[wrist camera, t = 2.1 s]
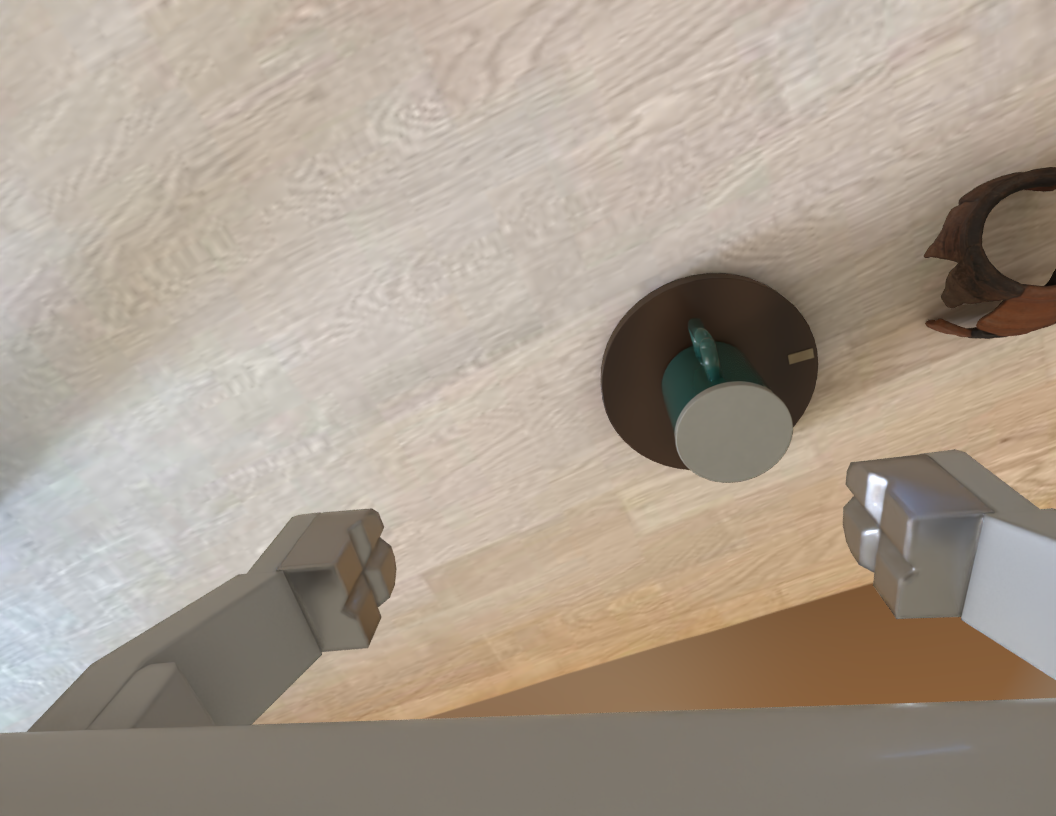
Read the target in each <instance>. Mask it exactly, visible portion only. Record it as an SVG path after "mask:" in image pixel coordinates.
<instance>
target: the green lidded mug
mask: <svg viewBox="0 0 1056 816" xmlns="http://www.w3.org/2000/svg"><path fill="white" fill-rule="evenodd" d="M688 329H689V332H690V336H691V340H692V344H693V346H691V347H689V348H687V349H685V350H683V351H682V352H680V353H679V354H678V355H677V356H675V358H674V359H673V360H672V361H671V362H670V363H669V365H668V366H667V368H666V370H665V372H664V375H663V379H662V386H661V388H662V395H663V399H664V402H665V406H666V409H667V412H668V416H669V419H670V422H671V426H672V429H673V432H674V436H675V444H676V448H677V451H678V454H679V456H680V458H681V460H682V461H683V463H684V464H685V465H686V466H687V467H688V468H689V469H690V470H691V471H692V472H694V473H695V474H697V475H699V476H700V477H702V478H705V479H708V480H711V481H715V482H722V483H733V482H741V481H745V480H749V479H752V478H755V477H757V476H759V475H761V474H763V473H765V472H766V471H768V470H769V469H771V468H772V467H773V466H774V465H775V464H777V463H778V461H779V460H780V459H781V458H782V457H783V455H784V454H785V453H786V451H787V449H788V447H789V445H790V442H791V438H792V433H793V424H792V418H791V415H790V412H789V410H788V408H787V407H786V405H785V404H784V402H783V401H782V400H781V399H780V398H779V397H778V396H777V395H776V394H775V393H774V392H773V391H772V390H771V388H770V387H769V386H768V384H767V383H766V382H765V380H764V379H763V378H762V376H761V375H760V374H759V372H758V371H757V370H756V368H755V367H754V366H753V364H752V363H751V362H750V360H749V359H748V358H747V356H746V355H745V354H744V353H743V352H741V351H740V350H739V349H737V348H736V347H734V346H732V345H729V344H726V343H722V342H715V341H714V339H713V338H712V336H711V335H710V333H709V332H708V330H707V329H706V327H705V326H704V324H703V322H702V321H701V320H700V319H699V318H692V319H691V320H690V321H689V322H688Z"/></svg>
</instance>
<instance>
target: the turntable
mask: <svg viewBox="0 0 1056 816" xmlns="http://www.w3.org/2000/svg"><path fill="white" fill-rule="evenodd" d="M692 318H699V319H700V320H701V321H702V322H703V324H704V326H705V327H706V329H707V330H708V332H709V333H710V335H711V336H712V338H713V339H714V341H715V342H722V343H726V344H729V345H732V346H734V347H736V348H737V349H739V350H740V351H741V352H743V353H744V354H745V355H746V356H747V358H748V359H749V360H750V362H751V363H752V364H753V366H754V367H755V368H756V370H757V371H758V372H759V374H760V375H761V376H762V378H763V379H764V380H765V382H766V383H767V384H768V386H769V387H770V388H771V390H772V391H773V392H774V393H775V394H776V395H777V396H778V397H779V398H780V399H781V400H782V401H783V402H784V404H785V405H786V407H787V408H788V410H789V412H790V415H791V418H792V424H793V427H794V426H795V425H796V423H797V422H798V420H799V419H800V418H801V416H802V415H803V413H804V411H805V410H806V408H807V406H808V404H809V402H810V400H811V397H812V394H813V392H814V389H815V384H816V380H817V372H818V356H817V348H816V344H815V340H814V337H813V334H812V332H811V330H810V327H809V325H808V324H807V322H806V321H805V319H804V317H803V316H802V314H801V313H800V312H799V311H798V310H797V309H796V308H795V307H794V305H793V304H791V303H790V302H789V301H788V300H787V299H785V298H784V297H783V296H782V295H780V294H779V293H778V292H777V291H775V290H773V289H772V288H770V287H768V286H767V285H765V284H763V283H761V282H758V281H756V280H753V279H751V278H747V277H743V276H739V275H733V274H725V273H707V274H700V275H693V276H689V277H685V278H682V279H678V280H676V281H673V282H671V283H668V284H666V285H663V286H662V287H660V288H658V289H656V290H654V291H653V292H651V293H649V294H648V295H647V296H645V297H644V298H643V299H641V300H640V301H639V302H638V303H636V304H635V305H634V306H633V307H632V308H631V309H630V310H629V311H628V312H627V313H626V315H625V316H624V317H623V318H622V319H621V320H620V322H619V323H618V325H617V326H616V328H615V330H614V331H613V333H612V335H611V337H610V339H609V341H608V343H607V346H606V349H605V352H604V355H603V360H602V366H601V390H602V399H603V403H604V407H605V410H606V413H607V415H608V418H609V420H610V422H611V424H612V425H613V427H614V429H615V430H616V432H617V433H618V434H619V435H620V437H621V438H622V439H623V440H624V441H625V442H626V443H627V444H628V445H629V446H630V447H631V448H633V449H634V450H635V451H637V452H638V453H640V454H641V455H643V456H645V457H646V458H648V459H650V460H652V461H654V462H657V463H660V464H662V465H665V466H669V467H673V468H678V469H686V470H690V469H689V468H688V467H687V466H686V465H685V464H684V463H683V461H682V460H681V458H680V456H679V454H678V451H677V448H676V444H675V436H674V432H673V429H672V426H671V422H670V419H669V416H668V412H667V409H666V406H665V402H664V399H663V395H662V388H661V386H662V379H663V375H664V372H665V370H666V368H667V366H668V365H669V363H670V362H671V361H672V360H673V359H674V358H675V356H677V355H678V354H679V353H680V352H682V351H683V350H685V349H687V348H689V347H691V346H693V344H692V340H691V336H690V332H689V329H688V322H689V321H690V320H691V319H692Z"/></svg>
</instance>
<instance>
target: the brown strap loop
mask: <svg viewBox="0 0 1056 816" xmlns="http://www.w3.org/2000/svg"><path fill="white" fill-rule="evenodd" d="M1055 189H1056V167H1048V168H1040V169H1035V170H1031V171H1028V172H1018V173H1012V174H1008V175H1004V176H1001V177H998V178H995V179H993V180H990V181H988V182H986V183H983V184H982V185H980V186H978V187H976V188H974V189H973V190H972V191H970V192H969V193H967V194H966V195H964V196H963V197H962V198H961V199H960V200H959V206H956V207H954V208H953V209H951V211H950V212H949V214H948V216H947V218H946V220H945V223H944V225H943V228H942V230H941V232H940V234H939V235H938V237H937V238H936V240H935V242H934V243H933V244H932V245H931V246H930V247H929V248H928V250H927V251H926V253H925V254H924V258H929V257H935V258H940V259H947V260H951V261H955V262H957V263H958V264H957V265H956V266H955V267H954V268H953V269H952V270H951V271H950V272H949V275H948V277H947V279H946V285H945V289H944V291H943V292H942V295H941V298H942V300H943V302H944V303H945V305H946V306H947V307H949V308H955V307H957V306H961V305H963V304H976V303H981V302H988V301H999V300H1003V301H1002V302H1001V303H1000V305H999V306H998V307H997V308H996V309H994V310H993V311H992V312H990V313H989V314H987V315H985V316H983V317H982V318H980V319H979V321H978V322H977V325H976V326H977V327H975V328H963V327H960V326H957V325H955V324H952V323H950V322H948V321H946V320H943V319H938V320H928V321H926V323H925V324H926V326H927V327H929V328H931V329H933V330H936V331H939V332H942V333H946V334H952V335H957V336H960V337H968V338H985V339H990V338H1000V337H1007V336H1016V335H1022V334H1027V333H1029V332H1031V331H1035V330H1038V329H1041V328H1045V327H1048V326H1051V325H1053V324H1055V323H1056V269H1055V271H1054V272H1053V274H1052V276H1051V278H1050V280H1049V281H1048V282H1047V284H1046V285H1045V286H1035V285H1027V284H1020V283H1019V282H1016V281H1014V280H1012V279H1010V278H1008V277H1006V276H1004V275H1003V274H1001V273H1000V272H999V271H998V270H997V269H996V268H995V267H994V266H993V265H992V264H991V262H990V261H989V260H988V258H987V256H986V254H985V251H984V249H983V247H982V234H983V228H984V223H985V221H986V218H987V216H988V214H989V213H990V212H991V210H992V209H993V208H994V207H995V206H996V205H997V204H998V203H999V202H1000V201H1001V200H1003V199H1004V198H1006V197H1007V196H1009V195H1011V194H1013V193H1015V192H1017V191H1020V190H1032V191H1043V192H1044V191H1053V190H1055Z"/></svg>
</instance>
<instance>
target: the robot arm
mask: <svg viewBox="0 0 1056 816" xmlns="http://www.w3.org/2000/svg"><path fill="white" fill-rule="evenodd" d="M846 486H847V487H848V488H849V490H850V491H851V492H852V493H853V495H854V496H853V497H852V498H851V500H850V501H849V502H848V503H847V504H846V505H845V506H844V507H843V528H844V533H845V538H846V542H847V544H848V547H849V549H850V551H851V553H852V555H853V556H854V558H855V559H856V561H857V562H858V564H859V565H861V566H863V567H864V568H866V569H868V570H870V571H872V572H874V581H873V586H874V587H875V588H876V590H877V591H878V593H879V594H880V596H881V597H882V599H883V600H884V602H885V603H886V605H887V606H888V607H889V609H890V610H891V612H892V613H893V615H894V616H895V617H896V619H903V618H936V617H961V620H963V621H964V622H966V623H967V624H969V625H970V626H972V627H974V628H975V629H977V630H978V631H980V632H982V633H983V634H985V635H986V636H988V637H989V638H991V639H993V640H994V641H996V642H997V643H999V644H1000V645H1002V646H1003V647H1005V648H1007V649H1008V650H1010V651H1011V652H1013V653H1014V654H1016V655H1017V656H1019V657H1021V658H1022V659H1024V660H1025V661H1027V662H1028V663H1030V664H1032V665H1033V666H1035V667H1036V668H1038V669H1039V670H1041V671H1043V672H1044V673H1046V674H1047V675H1049V676H1050V677H1052V678H1053V679H1055V680H1056V509H1053V508H1051V509H1039V508H1038V507H1036V506H1035V505H1034V504H1032V503H1031V502H1030V501H1028V500H1027V499H1026V498H1024V497H1023V496H1022V495H1020V494H1019V493H1018V492H1017V491H1015V490H1014V489H1013V488H1011V487H1010V486H1009V485H1007V484H1006V483H1005V482H1003V481H1002V480H1001V479H999V478H998V477H997V476H995V475H994V474H993V473H992V472H990V471H989V470H988V469H986V468H985V467H984V466H982V465H981V464H980V463H978V462H977V461H976V460H974V459H973V458H972V457H971V456H969V455H968V454H967V453H965V452H962V451H959V450H955V449H954V450H947V451H939V452H931V453H924V454H919V455H911V456H903V457H894V458H885V459H877V460H868V461H859V462H851V463H850V465H849V468H848V470H847V475H846ZM383 529H384V525H383V523H382V520H381V518H380V515H379V513H378V512H377V511H375V510H373V509H360V510H347V511H334V512H323V513H320V512H319V513H310V514H301V515H297V516H294V517H292V518H291V519H290V520H289V522H288V523H287V524H286V525H285V527H284V528H283V529H282V530H281V532H280V533H279V534H278V535H277V537H276V538H275V539H274V540H273V542H272V543H271V544H270V545H269V546H268V548H267V549H266V550H265V551H264V553H263V554H262V555H261V556H260V558H259V559H258V560H257V561H256V563H255V564H254V565H253V566H252V568H251V569H250V570H249V571H248V573H247V574H239V575H237V576H235V577H234V578H232V579H230V580H229V581H227V582H225V583H224V584H222V585H221V586H219V587H217V588H216V589H214V590H212V591H211V592H209V593H207V594H206V595H204V596H203V597H201V598H199V599H198V600H196V601H194V602H193V603H191V604H189V605H188V606H186V607H184V608H183V609H181V610H180V611H178V612H176V613H175V614H173V615H171V616H170V617H168V618H166V619H165V620H163V621H161V622H160V623H158V624H157V625H155V626H153V627H152V628H150V629H148V630H147V631H145V632H143V633H142V634H140V635H139V636H137V637H135V638H134V639H132V640H130V641H129V642H127V643H125V644H124V645H122V646H120V647H119V648H117V649H116V650H114V651H112V652H111V653H109V654H107V655H106V656H104V657H102V658H101V659H99V660H98V661H96V662H94V663H93V664H91V665H90V666H89V667H88V668H87V669H86V670H85V671H84V672H83V673H82V674H81V675H80V677H79V678H78V679H77V680H76V681H75V682H74V683H73V684H72V685H71V686H70V687H69V688H68V689H67V690H66V691H65V692H64V693H63V694H62V695H61V696H60V697H59V698H58V699H57V700H56V702H55V703H54V704H53V705H52V706H51V707H50V708H49V709H48V710H47V711H46V712H45V713H44V714H43V715H42V716H41V717H40V718H39V719H38V720H37V721H36V722H35V723H34V724H33V725H32V727H31V728H30V729H29V730H28V731H27V732H14V733H0V816H1056V698H1045V699H1020V700H1019V699H1017V700H988V701H960V702H932V703H903V704H902V703H901V704H868V705H838V706H837V705H836V706H804V707H772V708H742V709H741V708H740V709H708V710H680V711H651V712H650V711H648V712H619V713H589V714H559V715H529V716H500V717H472V718H471V717H470V718H440V719H410V720H379V721H349V722H319V723H289V724H259V725H252V724H253V723H254V722H255V721H256V720H257V719H258V718H259V717H260V716H261V715H262V714H263V713H264V712H265V711H266V710H267V709H268V708H269V707H270V706H271V705H272V704H273V703H274V702H275V701H276V700H277V699H278V698H279V697H280V696H281V695H282V694H283V693H284V692H285V691H286V690H287V689H288V688H289V687H290V686H291V685H292V684H293V683H294V682H295V681H296V680H297V679H298V678H299V677H300V676H301V675H302V674H303V673H304V672H305V671H306V670H307V669H308V668H309V667H310V666H311V665H312V664H313V663H314V662H315V661H316V660H317V659H318V658H319V657H320V656H321V655H322V653H321V652H327V651H338V650H350V649H362V648H368V647H369V645H370V642H371V640H372V638H373V635H374V633H375V631H376V628H377V626H378V624H379V622H380V619H381V615H380V612H379V609H378V607H379V606H380V605H381V604H383V603H384V602H385V601H386V600H387V599H389V598H390V596H391V593H392V591H393V588H394V586H395V578H396V562H395V556H394V553H393V550H392V547H391V546H390V545H389V544H388V543H386V542H385V541H384V540H383V539H381V538H380V536H381V533H382V531H383Z"/></svg>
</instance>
